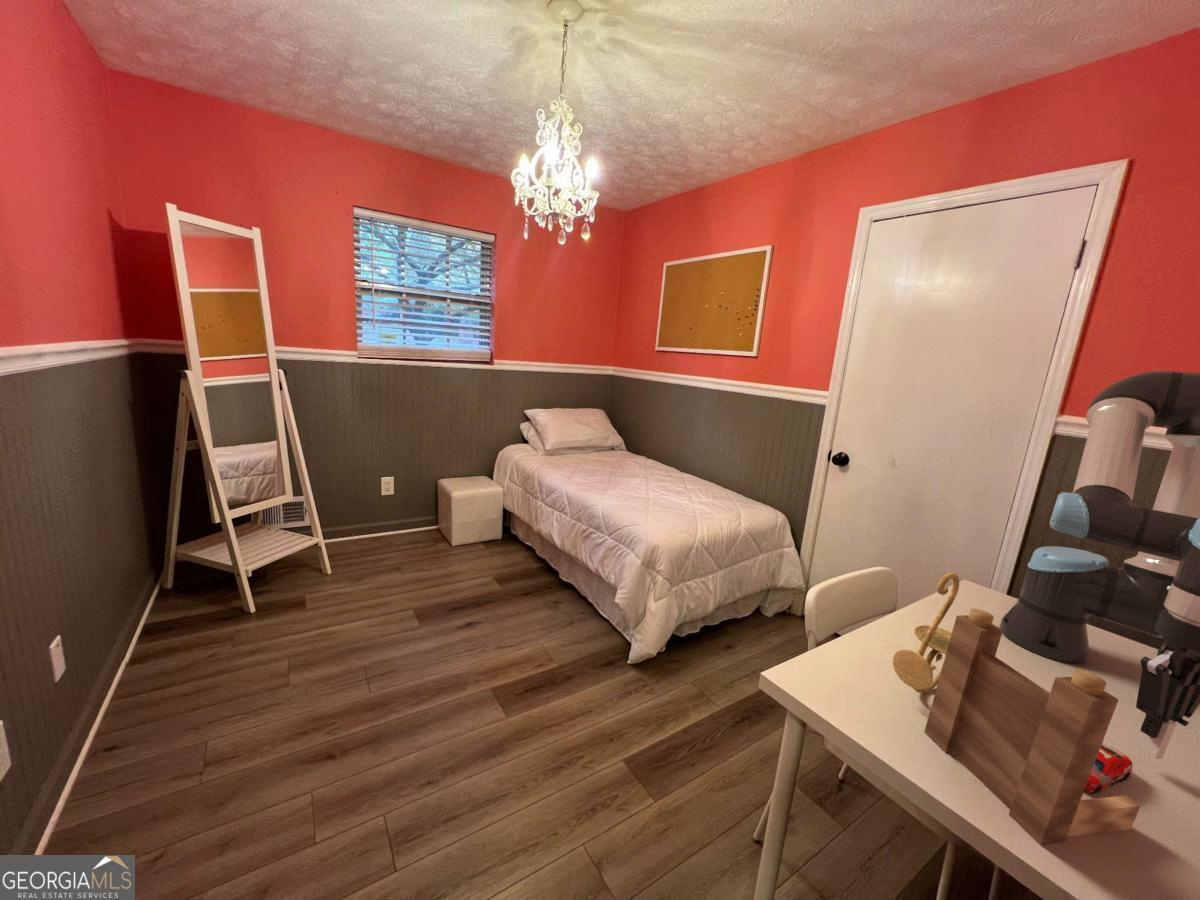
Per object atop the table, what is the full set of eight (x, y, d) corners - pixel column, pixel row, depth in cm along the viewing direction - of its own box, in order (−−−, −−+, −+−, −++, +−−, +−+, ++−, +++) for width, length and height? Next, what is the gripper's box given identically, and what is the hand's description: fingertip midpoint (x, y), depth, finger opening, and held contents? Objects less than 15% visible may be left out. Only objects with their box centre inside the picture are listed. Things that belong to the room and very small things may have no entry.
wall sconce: (930, 721, 80) (967, 591, 74) (877, 684, 88) (907, 565, 82) (972, 699, 86) (1008, 578, 80) (919, 667, 94) (948, 555, 89)
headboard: (1002, 726, 80) (1041, 605, 75) (1135, 833, 62) (1197, 684, 57) (924, 732, 77) (959, 606, 72) (1040, 844, 60) (1096, 689, 55)
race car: (1087, 800, 67) (1095, 778, 66) (1042, 768, 72) (1049, 747, 71) (1138, 780, 71) (1146, 759, 70) (1092, 751, 76) (1100, 731, 75)
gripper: (1197, 605, 73) (1147, 730, 78) (1134, 606, 71) (1087, 734, 76) (1271, 634, 66) (1211, 769, 71) (1203, 636, 63) (1146, 775, 68)
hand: (1147, 751), depth 73 cm, fingers closed
